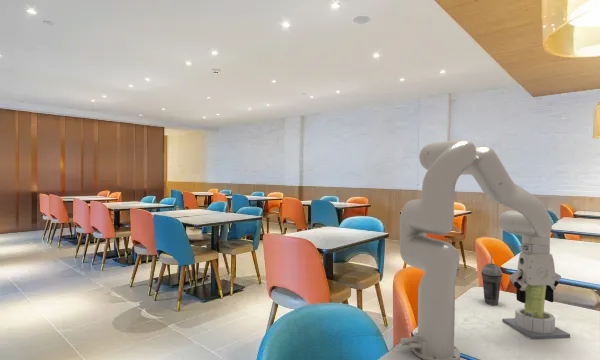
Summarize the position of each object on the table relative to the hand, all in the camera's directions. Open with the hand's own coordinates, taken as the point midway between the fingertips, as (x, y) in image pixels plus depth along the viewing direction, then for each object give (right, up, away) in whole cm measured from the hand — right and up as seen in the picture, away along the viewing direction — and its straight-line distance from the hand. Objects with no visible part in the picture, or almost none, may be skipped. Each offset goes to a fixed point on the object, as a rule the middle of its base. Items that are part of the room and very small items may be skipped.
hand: (534, 301), depth 113 cm
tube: (0, -8, 0) cm, 8 cm away
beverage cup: (-1, -9, +23) cm, 25 cm away
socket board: (0, -9, 0) cm, 9 cm away
